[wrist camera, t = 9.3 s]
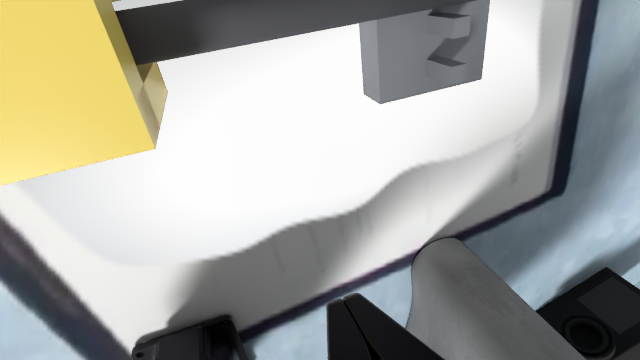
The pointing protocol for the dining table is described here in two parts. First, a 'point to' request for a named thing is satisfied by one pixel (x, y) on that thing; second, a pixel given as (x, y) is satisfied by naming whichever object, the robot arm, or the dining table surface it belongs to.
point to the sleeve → (71, 89)
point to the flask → (475, 310)
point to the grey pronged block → (423, 50)
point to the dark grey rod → (245, 22)
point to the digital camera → (599, 317)
